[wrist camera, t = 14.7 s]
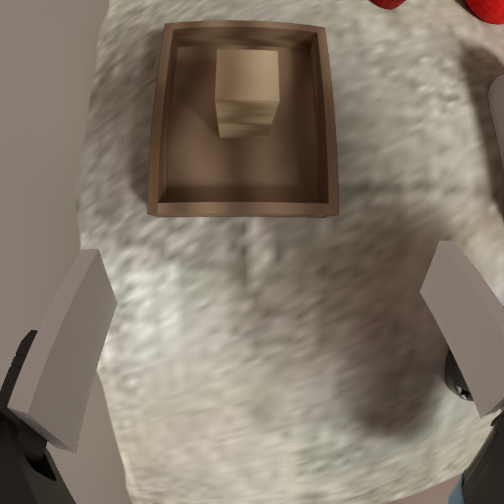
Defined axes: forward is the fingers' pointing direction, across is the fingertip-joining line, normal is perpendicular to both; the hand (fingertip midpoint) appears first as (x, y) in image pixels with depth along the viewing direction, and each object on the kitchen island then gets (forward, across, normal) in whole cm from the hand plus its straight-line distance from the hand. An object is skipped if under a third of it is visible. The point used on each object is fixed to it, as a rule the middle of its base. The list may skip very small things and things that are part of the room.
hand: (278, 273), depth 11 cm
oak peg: (+26, -1, 0) cm, 26 cm away
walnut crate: (+27, -1, 0) cm, 27 cm away
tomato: (+46, +46, +26) cm, 70 cm away
